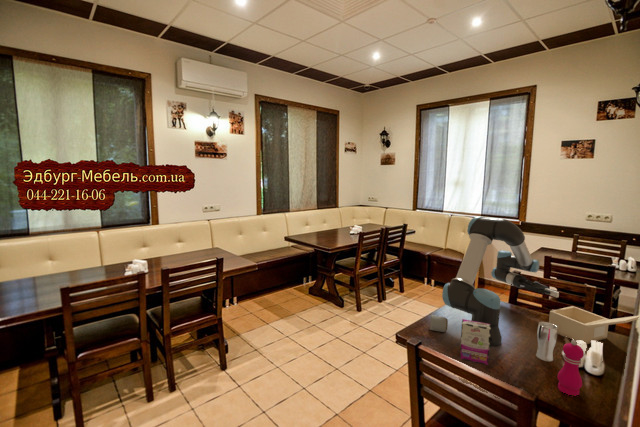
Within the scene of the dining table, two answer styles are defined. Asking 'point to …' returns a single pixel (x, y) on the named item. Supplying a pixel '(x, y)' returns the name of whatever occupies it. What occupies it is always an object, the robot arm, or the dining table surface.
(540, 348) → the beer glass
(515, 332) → the dining table surface
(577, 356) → the pepper mill
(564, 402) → the dining table surface
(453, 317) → the dining table surface
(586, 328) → the carton
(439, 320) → the grey rounded block
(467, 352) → the candy bar box
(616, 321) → the carton lid
